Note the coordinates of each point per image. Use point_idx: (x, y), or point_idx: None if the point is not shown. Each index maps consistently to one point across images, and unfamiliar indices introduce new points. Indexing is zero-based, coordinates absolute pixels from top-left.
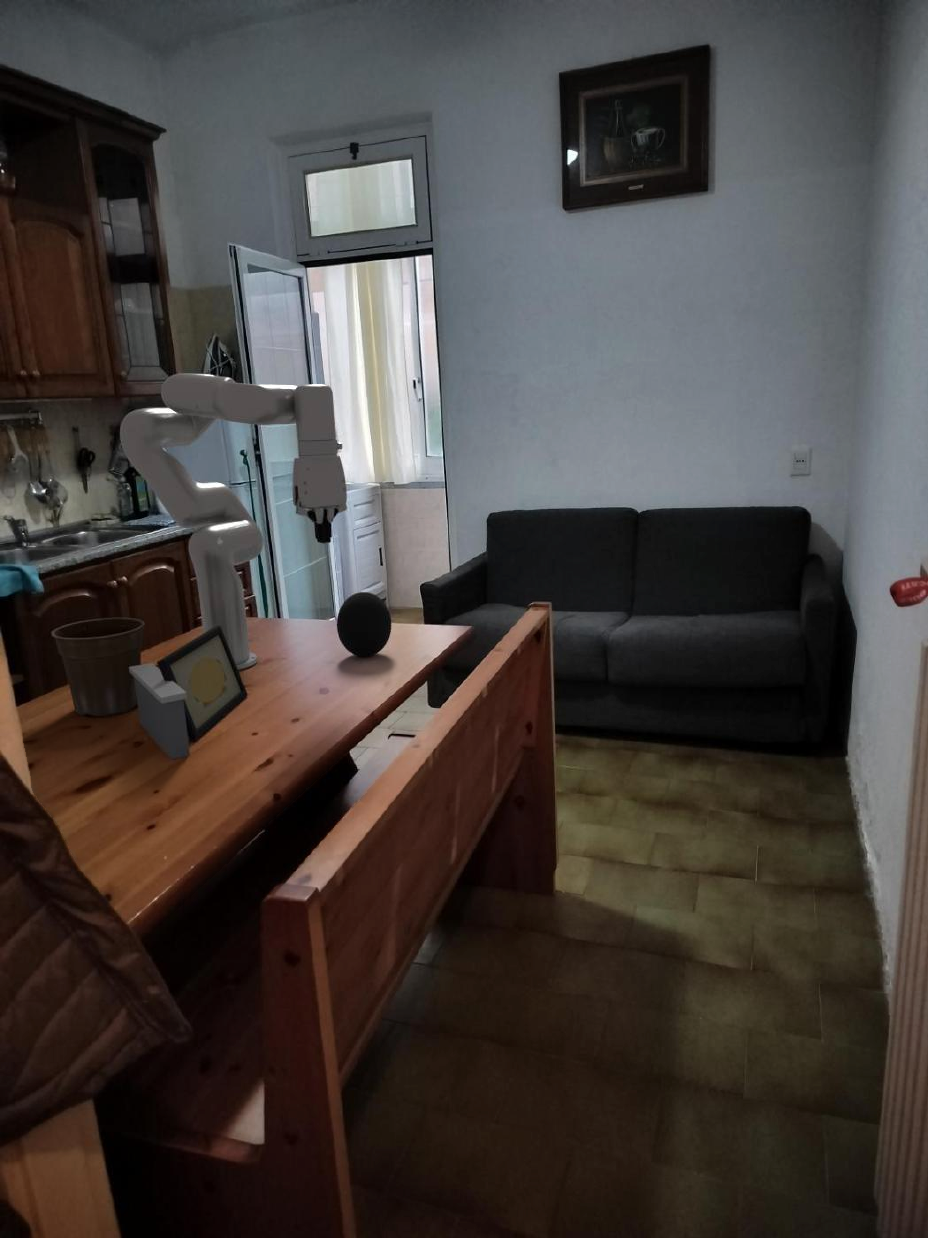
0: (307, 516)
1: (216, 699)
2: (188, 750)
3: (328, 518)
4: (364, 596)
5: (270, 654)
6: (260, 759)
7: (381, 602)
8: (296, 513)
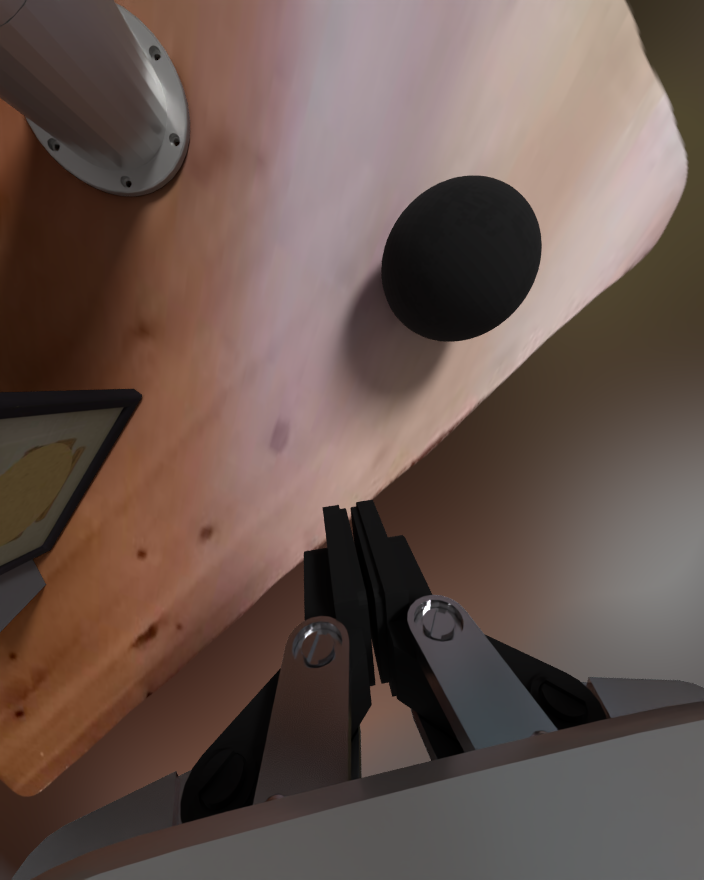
0: (223, 737)
1: (65, 483)
2: (39, 589)
3: (422, 725)
4: (487, 288)
5: (234, 87)
6: (141, 624)
7: (519, 302)
8: (34, 864)
